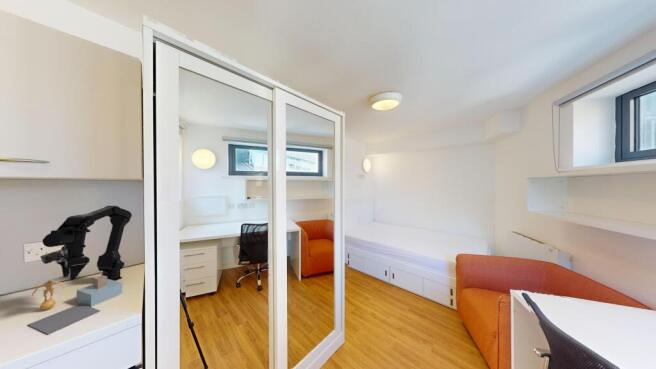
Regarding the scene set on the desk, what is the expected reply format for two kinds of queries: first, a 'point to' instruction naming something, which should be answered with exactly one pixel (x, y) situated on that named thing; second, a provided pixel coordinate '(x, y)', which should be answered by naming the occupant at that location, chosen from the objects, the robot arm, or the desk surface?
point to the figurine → (50, 302)
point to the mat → (63, 318)
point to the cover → (99, 291)
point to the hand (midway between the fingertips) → (68, 278)
